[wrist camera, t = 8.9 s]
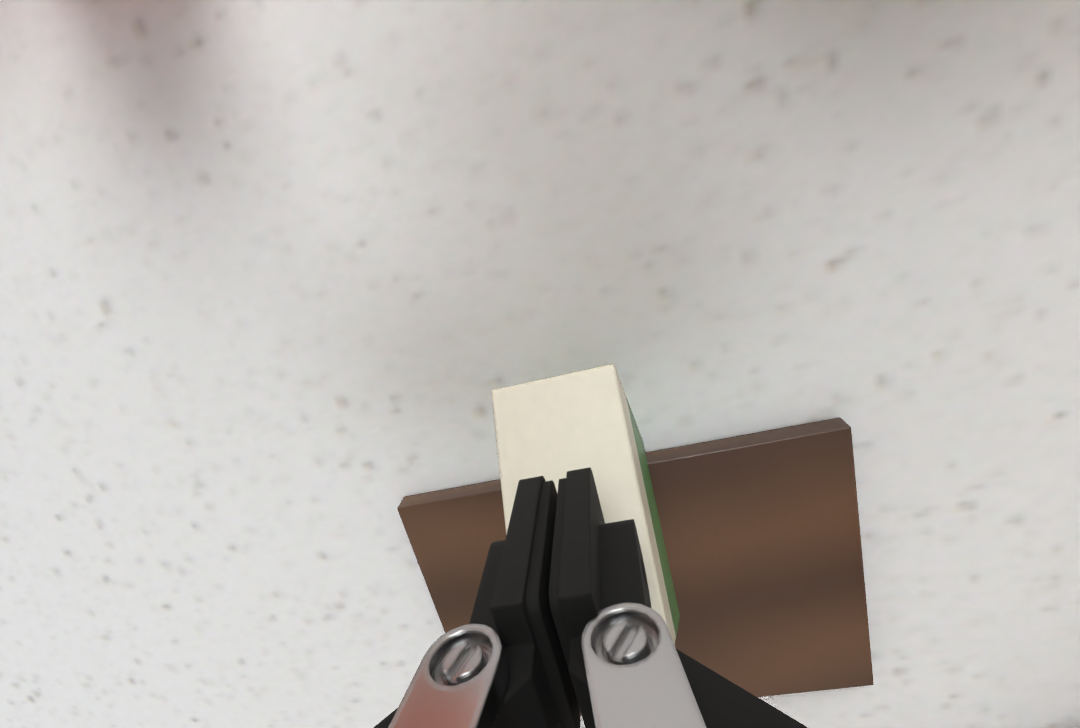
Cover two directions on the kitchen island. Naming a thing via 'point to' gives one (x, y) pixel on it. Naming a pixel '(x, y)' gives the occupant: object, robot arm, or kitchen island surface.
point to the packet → (586, 458)
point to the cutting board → (715, 555)
